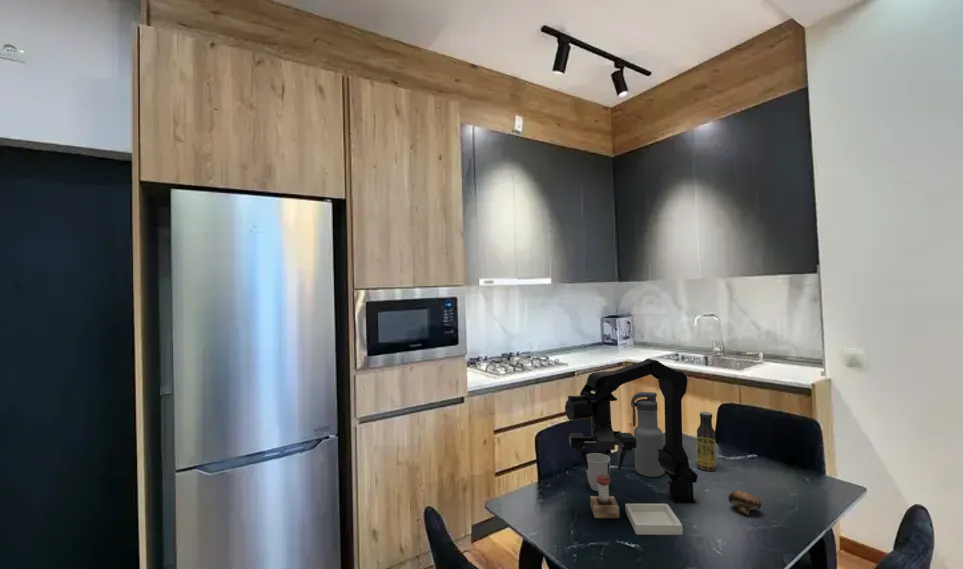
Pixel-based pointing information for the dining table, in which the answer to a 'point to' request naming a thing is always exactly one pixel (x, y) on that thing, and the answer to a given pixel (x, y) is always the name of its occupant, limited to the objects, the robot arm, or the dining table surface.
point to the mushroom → (744, 501)
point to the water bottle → (647, 435)
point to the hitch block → (604, 508)
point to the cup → (597, 468)
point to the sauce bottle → (706, 443)
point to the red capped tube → (603, 489)
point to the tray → (653, 519)
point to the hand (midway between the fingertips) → (603, 469)
